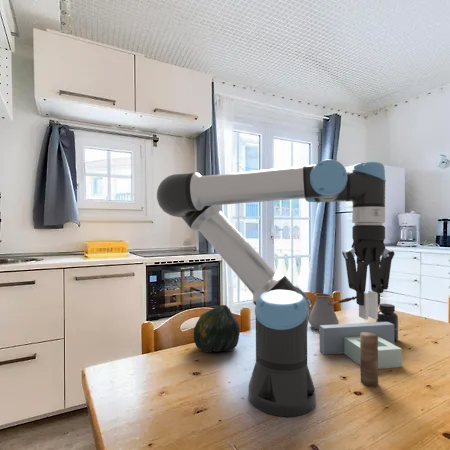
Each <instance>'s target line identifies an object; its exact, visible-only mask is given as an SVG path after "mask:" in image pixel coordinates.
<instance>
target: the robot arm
mask: <svg viewBox="0 0 450 450" xmlns="http://www.w3.org/2000/svg"><path fill="white" fill-rule="evenodd" d="M346 169H347V168H346V167H345V166H344V165H343V164H342V162H340V161H338V160H337V159H329V158H328V159H324V160H323V159H322V160H321V161H319V162H318V163H316V164H307V165H299V166H290V167H277V168H269V169H259V170H249V171H239V172H229V173H219V174H211V175H201V174H200V173H199V172H189V173H176V174H174V173H173V174H171V175H168V176H167V177H165V178H164V179H162V180H161V182H160V183H159V185H158V187H157V190H156V200H157V204H158V205H159V207H160V209H161V210H162V211H163V212H164V213H166V214H168V215H169V216H171V217H172V216H173V217H175V218H176V217H177V218H181V219H182V220H183V221H184V222H185V224H186V225H187V226H188V227H189V228H190V229H191V230H192V231H196V232H200V233H201V235H202V236H203V237H204V238H205V240H207V242H209V244H210V245H211V246H212V248H214V250H215V251H216V252H217V253H218V254H219V256H220V257H221V258H222V259H223V260H224V261H225V263H226V264H227V266H229V268H230V269H231V270H232V271H233V273H234V274H235V275H236V276H237V277H238V278H239V279H240V281H241V282H242V283H243V284H244V286H246V288H247V289H248V290H249V291H250V293H251V294H252V303H253V305H254V306H255V307H254V314H255V364H254V367H253V370H252V373H251V376H250V379H249V382H248V399H249V401H250V403H251V404H252V405H253V406H254V407H255V408H256V409H258V410H259V411H262V412H264V413H267V414H269V415H273V416H279V417H298V416H303V415H306V414H307V413H309V412H311V411H312V410H314V408H315V406H316V402H317V399H316V397H317V394H316V393H317V391H316V388H315V385H314V381H313V378H312V375H311V372H310V369H309V366H308V365H309V364H308V326H309V321H308V320H309V316H310V313H311V304H310V301H309V298H308V297H307V295H306V294H305V292H304V291H303V290H302V289H300V287H297V286H295V285H293V283H292V282H291V281H290V280H289V279H288V278H287V276H285V274H278V273H276V272H275V271H274V270H273V269H272V268H271V267H270V265H269V264H268V263H267V262H266V261H265V260H264V258H263V257H262V256H261V255H260V254H259V253H258V252H257V251H256V249H255V248H253V246H252V245H251V244H250V242H249V241H247V239H246V238H245V237H244V236H243V235H242V233H240V232H239V230H238V229H237V228H236V226H234V224H233V223H232V222H231V221H230V220H229V218H227V217H226V215H225V214H224V213H223V212H222V209H223V205H224V206H225V205H238V204H247V203H261V202H263V203H264V202H273V201H275V202H276V201H287V200H289V201H290V200H301V199H304V200H305V201H306V202H308V203H319V204H320V203H331V202H333V203H334V202H352V221H351V222H352V223H353V224H354V225H353V226H351V227H352V245H351V248H349V249H347V250H343V251H342V252H341V254H342V256H343V258H344V259H345V267H346V268H345V269H346V274H347V283H348V288H349V289H351V290H353V291H355V293H356V294H355V295H356V296H355V297H356V299H355V300H356V301H355V302H356V304H357V305H358V317H359V318H362V319H363V320H365V321H366V320H369V318H372V319H374V320H376V319H378V312H379V307H378V306H379V305H380V304H381V294H382V293H384V290H386V291H387V290H388V289H389V284H390V283H389V282H390V274H391V267H392V261H393V258H394V256H395V251H393V250H389V249H387V248H386V245H385V242H384V240H385V239H386V226H385V225H383V224H385V222H386V182H387V180H386V170H385V166H384V164H383V163H381V162H377V161H366V162H359V163H356V164H354V165H353V166H352V170H351V171H349V172H347V170H346ZM355 257H356V259H355ZM356 264H357V265H356ZM368 269H369V279H370V280H369V281H370V289H371V290H367V291H368V292H367V291H366V286H367V277H368V275H367V274H368Z"/></svg>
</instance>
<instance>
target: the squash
mask: <svg viewBox="0 0 450 450" xmlns="http://www.w3.org/2000/svg"><path fill="white" fill-rule="evenodd" d="M240 330H241V329H240V324H239V322H238V320H237V318H236V317H235V316H234V314H233V313H232V311H231V309H230V308H229V307H228V306H227V305H226V304H221V305H218V306H216V307H213V308H211V309H209V310H208V311H206V312H204V313H203V314H201V315H200V316H199V318H198V319H197V321H196V323H195V326H194V327H193V341H194V344H195V346H196V347H197V349H199V350H201V351H204V352H206V353H212V352H213V351H215V352H217V353H219V352H224V351H226V352H228V351H229V352H230V351H232V350H235V348H236V347H237V346H238V343H239V339H240V335H241V334H240V333H241V331H240Z"/></svg>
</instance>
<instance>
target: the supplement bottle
mask: <svg viewBox="0 0 450 450" xmlns="http://www.w3.org/2000/svg"><path fill="white" fill-rule="evenodd" d="M378 306H379V307H378V319H375V322H390V323H392V324H394V343H397V342H398V341H399V316H398V314H397V313H395V311H396V310H395V309H396V306H395V305H394V304H390V303H380V305H378Z"/></svg>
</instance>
